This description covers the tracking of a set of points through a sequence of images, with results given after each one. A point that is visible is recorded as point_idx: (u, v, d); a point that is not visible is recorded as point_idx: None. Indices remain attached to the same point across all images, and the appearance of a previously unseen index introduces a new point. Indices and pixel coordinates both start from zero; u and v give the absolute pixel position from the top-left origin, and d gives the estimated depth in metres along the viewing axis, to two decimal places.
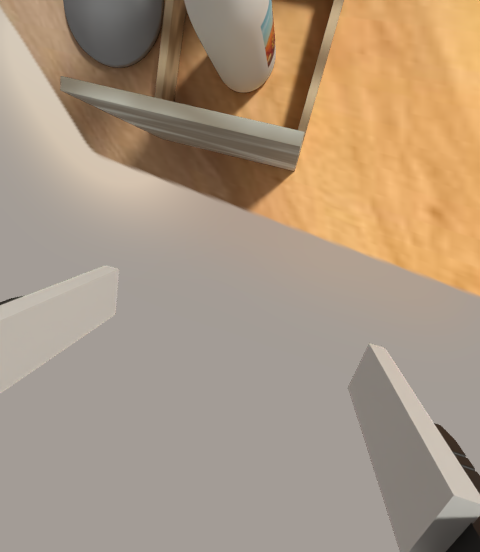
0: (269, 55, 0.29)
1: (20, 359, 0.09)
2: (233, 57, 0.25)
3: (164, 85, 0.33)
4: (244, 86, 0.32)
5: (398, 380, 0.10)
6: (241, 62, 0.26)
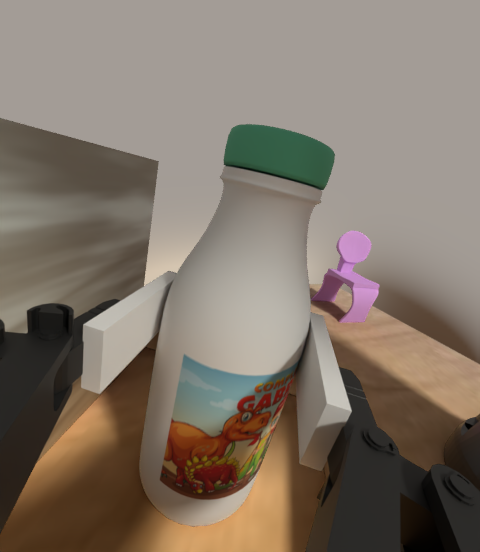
0: (172, 462, 0.12)
1: (121, 355, 0.10)
2: None
3: None
4: None
5: (322, 336, 0.12)
6: (154, 363, 0.13)
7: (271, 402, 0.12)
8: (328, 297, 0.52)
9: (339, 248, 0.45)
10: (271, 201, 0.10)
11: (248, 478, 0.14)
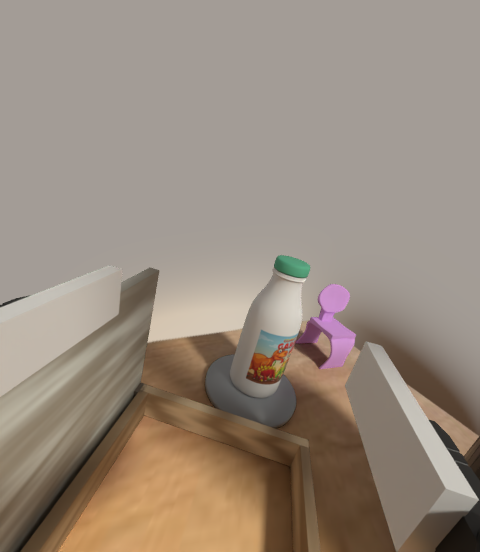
0: (252, 369, 0.35)
1: (26, 358, 0.09)
2: (245, 324, 0.36)
3: (175, 403, 0.29)
4: (233, 364, 0.38)
5: (394, 377, 0.10)
6: (243, 334, 0.36)
7: (288, 347, 0.34)
8: (311, 339, 0.57)
9: (320, 301, 0.49)
10: (290, 282, 0.32)
11: (278, 379, 0.36)
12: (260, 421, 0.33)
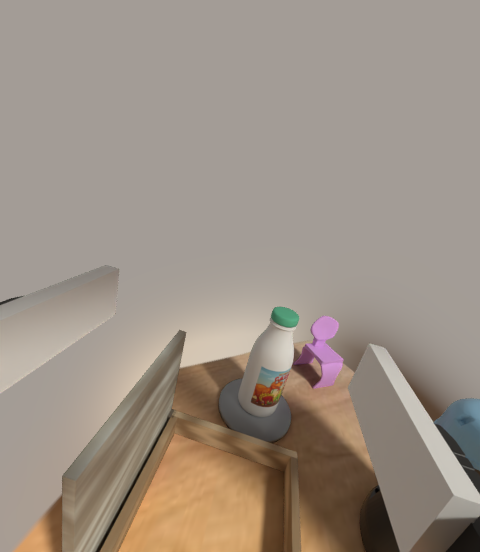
0: (255, 395, 0.45)
1: (20, 359, 0.09)
2: (249, 360, 0.46)
3: (197, 425, 0.39)
4: (240, 389, 0.48)
5: (398, 380, 0.10)
6: (248, 368, 0.46)
7: (283, 378, 0.44)
8: (307, 361, 0.66)
9: (312, 331, 0.59)
10: (283, 330, 0.42)
11: (275, 402, 0.46)
12: (262, 436, 0.43)
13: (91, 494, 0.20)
